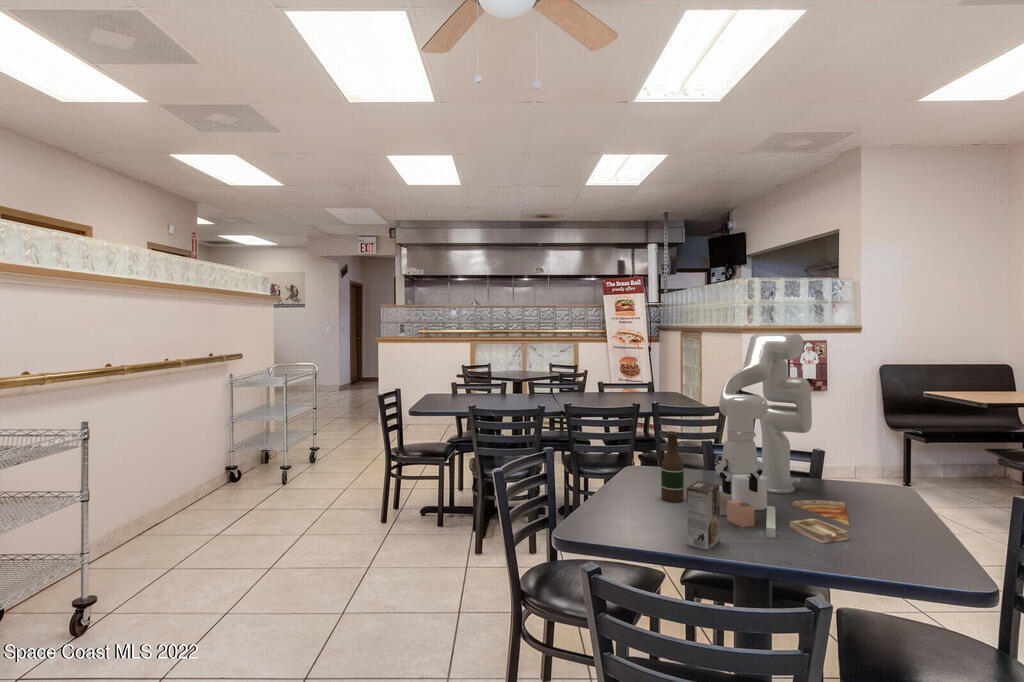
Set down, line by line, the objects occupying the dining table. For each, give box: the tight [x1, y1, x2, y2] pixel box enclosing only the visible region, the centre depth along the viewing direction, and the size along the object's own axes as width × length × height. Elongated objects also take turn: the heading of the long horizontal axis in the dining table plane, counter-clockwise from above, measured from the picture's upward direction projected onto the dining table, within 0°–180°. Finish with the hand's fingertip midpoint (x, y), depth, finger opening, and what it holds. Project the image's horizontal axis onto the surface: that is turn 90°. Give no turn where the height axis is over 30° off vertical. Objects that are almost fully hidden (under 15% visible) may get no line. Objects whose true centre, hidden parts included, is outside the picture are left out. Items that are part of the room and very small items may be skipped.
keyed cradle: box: [789, 518, 850, 544], centre depth 161 cm, size 9×12×2 cm
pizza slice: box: [791, 499, 850, 528], centre depth 181 cm, size 16×22×2 cm
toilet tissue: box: [731, 474, 768, 511], centre depth 189 cm, size 11×12×10 cm
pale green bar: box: [765, 505, 777, 539], centre depth 169 cm, size 22×2×3 cm, turn 155°
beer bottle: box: [660, 430, 685, 503], centre depth 196 cm, size 8×8×24 cm
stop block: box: [726, 500, 755, 528], centre depth 172 cm, size 4×7×7 cm, turn 16°
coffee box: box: [686, 480, 721, 551], centre depth 155 cm, size 9×6×16 cm
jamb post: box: [719, 485, 732, 516], centre depth 181 cm, size 5×5×8 cm
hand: (740, 492), depth 171 cm, fingers open, 9 cm apart
